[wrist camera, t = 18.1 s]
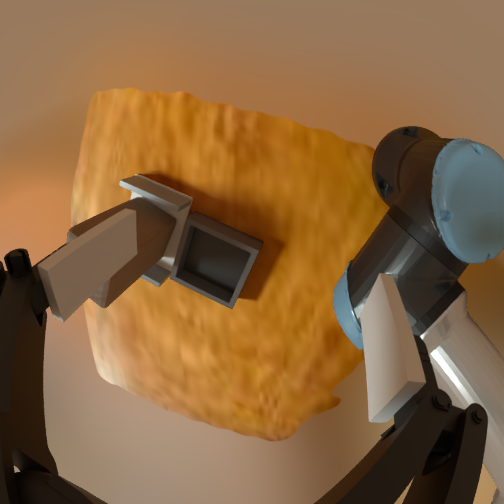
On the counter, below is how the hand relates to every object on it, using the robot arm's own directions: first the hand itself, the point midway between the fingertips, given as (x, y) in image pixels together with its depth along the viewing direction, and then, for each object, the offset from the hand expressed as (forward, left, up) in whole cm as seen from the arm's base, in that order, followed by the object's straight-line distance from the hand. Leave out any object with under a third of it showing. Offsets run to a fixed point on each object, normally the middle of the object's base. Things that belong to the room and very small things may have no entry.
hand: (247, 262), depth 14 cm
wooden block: (+22, +20, -32) cm, 44 cm away
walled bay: (+21, +20, -33) cm, 44 cm away
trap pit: (+7, +20, -33) cm, 39 cm away
